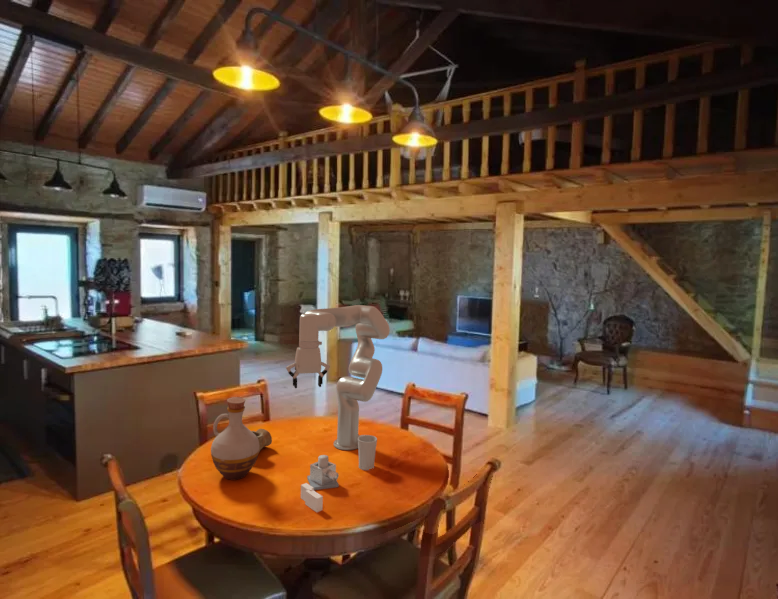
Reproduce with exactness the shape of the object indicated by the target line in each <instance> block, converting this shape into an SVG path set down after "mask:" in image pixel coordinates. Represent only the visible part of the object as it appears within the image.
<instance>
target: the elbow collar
mask: <svg viewBox="0 0 778 599" xmlns="http://www.w3.org/2000/svg"><path fill="white" fill-rule="evenodd" d="M309 467H310V469H309V475H310V480H311V481H313V482H315V483H317V484H319V485H321V486H323V485H325V484H327V483H329V482H332V481H336V480H337V481H338V479H339V473H338V472H336V471H337V464H336V463H333V462H331V461H329V460H328V467H326V468H323V469H322V468H320V467H318V461H315V462H314V463H311V464H310V466H309Z"/></svg>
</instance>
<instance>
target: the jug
mask: <svg viewBox="0 0 778 599" xmlns="http://www.w3.org/2000/svg"><path fill="white" fill-rule="evenodd" d="M245 402H246V399H245V398H243V397H240V396H239V397H238V396H237V397H236V396H235V397H234V396H232V397H229V398H227V399H226V403H227V407H226V410H227V412H228V413H221V414H219V415H218V416H217V417H216V418H215V420H214V422H213V426H212V427H213V428H212V429H213V434H214V436H215V438H214V439H213V441H212V443H211V447H210V455H211V459H212V462H213V465H214V467H215V469H216V470H217V471H218V472H219V474H221V475H222V477H224V478H225V479H226V480H229V481H230V480H232V481H234V480H235V481H237V480H240V479H244V478H245V477H246V476H247V474H248V473H249V472H250V471H251V470H252V469H253V467H254V466H255V465H256V462H257V460H258V456H259V454H260V452H259V446H260V445H259V440H258V438H257V437H256V435H255V434H254V433H253V432H252V431H253V430H250V429H249V428H248V427H247V426H245V424H243V413H244V411H245V408H246V406H245ZM224 418H227V419H228V421H229V422H228V425H227V426H226V427H225V428H224V429H223V430H222V431H221V432H218V424H219V422H220V421H221V419H224Z"/></svg>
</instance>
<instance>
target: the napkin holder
mask: <svg viewBox="0 0 778 599" xmlns="http://www.w3.org/2000/svg"><path fill="white" fill-rule="evenodd" d="M323 497H324V496H323V495H322V494H320V493H318V492H316V490H314V487H312V486H310V484H309V483H308V482H305V483H302V484H300V499H301V500H302V501H304V505H305V506H307V507H308V508H310V509H311V510H312V511H314V512H316V513H319V512H321V511H323V502H324V498H323Z"/></svg>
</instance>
